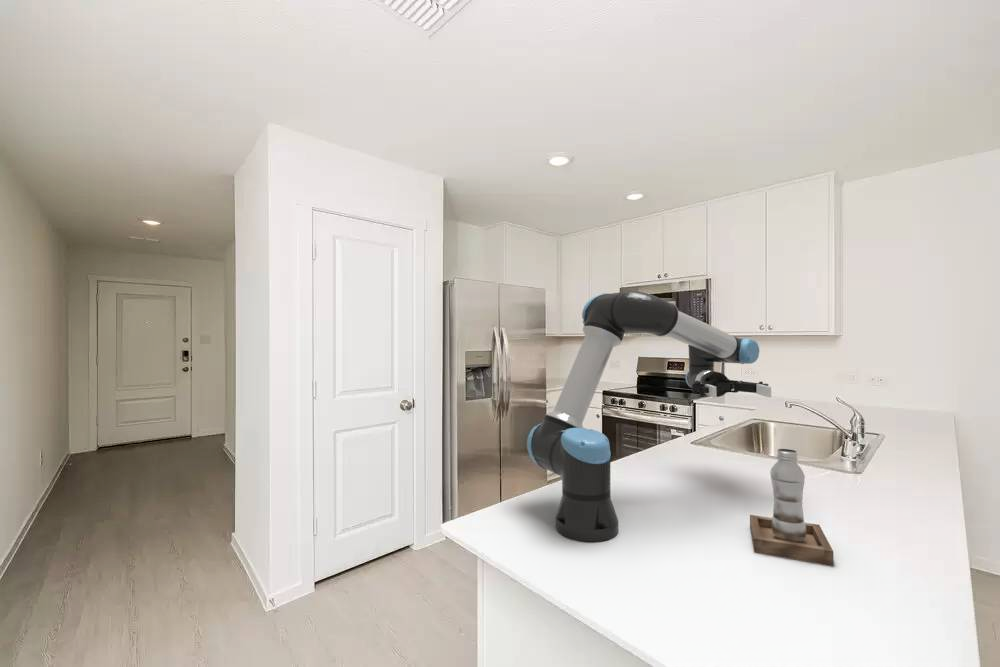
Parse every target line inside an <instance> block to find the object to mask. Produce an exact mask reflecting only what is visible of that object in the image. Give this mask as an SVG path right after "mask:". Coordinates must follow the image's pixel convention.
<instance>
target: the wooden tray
mask: <svg viewBox="0 0 1000 667" xmlns="http://www.w3.org/2000/svg"><path fill="white" fill-rule="evenodd" d="M771 523H772V517H768V516H761V515H753V514H749V530H750V536H751V540H752V541H751V542H752V547H753V553H756V554H762V555H768V556H774V557H778V558H779V557H780V558H783V559H790V560H797V561H802V562H807V563H813V564H817V565H818V564H819V565H825V566H830V567H834V566H835V565H834V550H833V548H832V546H831V543H829V541H828V538H827V537H826V535H825V533H824V531H823V529H822V527H821V525H820V524H817V523H809V522H805V525H806V531H807V533H806V538H805V540H804V541H803V542H801V543H796V542H790V541H784V540H780V539H778V538H777V537H775V535H774V534H773V532H772V527H771Z"/></svg>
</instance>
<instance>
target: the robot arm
mask: <svg viewBox="0 0 1000 667" xmlns="http://www.w3.org/2000/svg"><path fill="white" fill-rule="evenodd" d="M581 318H582V319H583V320H582V324H583V327H582V332H583V334H584V338H583V340H582V343H581V344H580V348H579V350H578V352H577V355H576V356H575V360H574V362H573V364H572V366H571V369H570V370H569V373H568V375H567V379H566V381H565V383H564V384H563V388H562V390H561V392H560V395H559V397H558V399H557V401H556V403H555V406H554V409H553V410H552V411H551V412H548V413H546V414H545V416H544V418H543V420H542V423H539V424H537V425H535V426H534V427H532V429H531V430H530V432H529V434H528V435H527V439H526V448H527V453H528V456H529V457H530V459H531V460H532V462H534V463H535V464H536V465H538V466H539V467H540V468H541V469H544V470H547V471H549V472H551V473H554V474H555V475H558V476H560V477H561V484H562V485H561V487H562V488H561V489H562V490H561V491H562V495H561V499H560V502H559V504H558V507H557V508H558V509H557V512H556V514H555V529H556V530H557V532H558V533H560V534H561V535H562V536H565V537H567V538H569V539H571V540H576V541H580V542H590V543H591V542H603V541H607V540H611V539H613V538H615V537H616V536H617V535H618V533H619V519H618V516H617V513H616V510H615V507H614V505H613V502H612V497H611V454H612V452H611V449H610V448H611V447H610V440H609V438H608V437H607V436H606V435H605V434H604V433H602V432H600V431H598V430H595V429H591V428H585V427H584V425H583V422H584V420H585V418H586V415H587V412H588V410H589V408H590V406H591V403H592V401H593V398H594V395H595V393H596V390H597V388H598V386H599V383H600V381H601V378H602V376H603V373H604V371H605V368H606V366H607V363H608V360H609V359H610V356H611V354H612V351H613V349H614V347H618V346H620V345H621V343H622V341H623V340H624V336H625V335H626V334H627V333H628V334H630V333H644V334H652V335H655V336H657V337H664V336H665V337H666V336H667V337H669V338H672V339H674V340H675V341H676V340H677V341H680V342H681V343H684V344H687V345H688V371H687V373H686V374H685V382H686V384H687V385H688V387H689V388H691V393H692V394H697V393H699V397H705V395H706V396H707V397H712V398H720V397H723V396H724V395H726V394H727V393H734V394H737V393H739V392H742V393H743V392H744V393H750V394H751V393H754V394H756V395H759V396H763V397H766V398H772V386H771V385H769V384H768V383H764V382H763V381H758V382H752V381H751V382H750V381H743V380H736V379H735V380H732V379H729V378H728V376H727V375H725V374H724V373H722V372H719V371H715V363H726V364H727V363H728V364H741V365H744V364H746V365H747V364H754V363H755V362H757V361H758V359H759V357H760V346H759V344H758V342H757V341H756V340H755V339H754V338H746V337H745V338H741V337H740V338H739V337H737V336H736V335H735V336H734V335H732V334H729V333H728V332H726V331H723V330H721V329H720V328H719V329H718V328H717V327H715V326H713V325H710V324H708V323H706V322H704V321H701V320H700V319H698V318H695V317H693V316H690V315H689V314H687V313H684V312H682V311H680V310H679V308H678V307H677V306H676V305H675V304H674V303H672V302H669V301H667V300H665V299H663V298H660V297H658V296H655V295H653V294H650V293H647V292H643V291H639V290H626V291H619V292H613V293H602V294H599V295H595V296H593V297H591V298H590V299H589V300H588V301H587V302H586V303H585V304H584V307H583V309H582V313H581Z"/></svg>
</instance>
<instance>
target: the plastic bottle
mask: <svg viewBox="0 0 1000 667" xmlns="http://www.w3.org/2000/svg"><path fill="white" fill-rule="evenodd" d="M776 458H777V459H778V460H777V461H776V462H775V463H774V464H773V466H772V467H770V468H771V469H770V471H769V473H770V480H771V485H772V490H773V491H772V492H773V493H772V494H773V513H772V517H771V518H772V523H771V527H772V532H773V534H774V535H775V537H777V538H778V539H780V540H784V541H790V542H796V543H801V542H803V541H804V540H805V538H806V533H807V531H806V525H805V523H806V522H805V518H804V517H805V516H804V510H803V500H804V499H803V498H804V497H803V496H804V487H805V478H806V475H805V473H804V471H803V469H802V468H801V467H800V465H799V464H798V463H797V461H798V451H797V450H796V449H795V450H794V449H792V448H791V449H790V448H778V449H777V455H776Z"/></svg>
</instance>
